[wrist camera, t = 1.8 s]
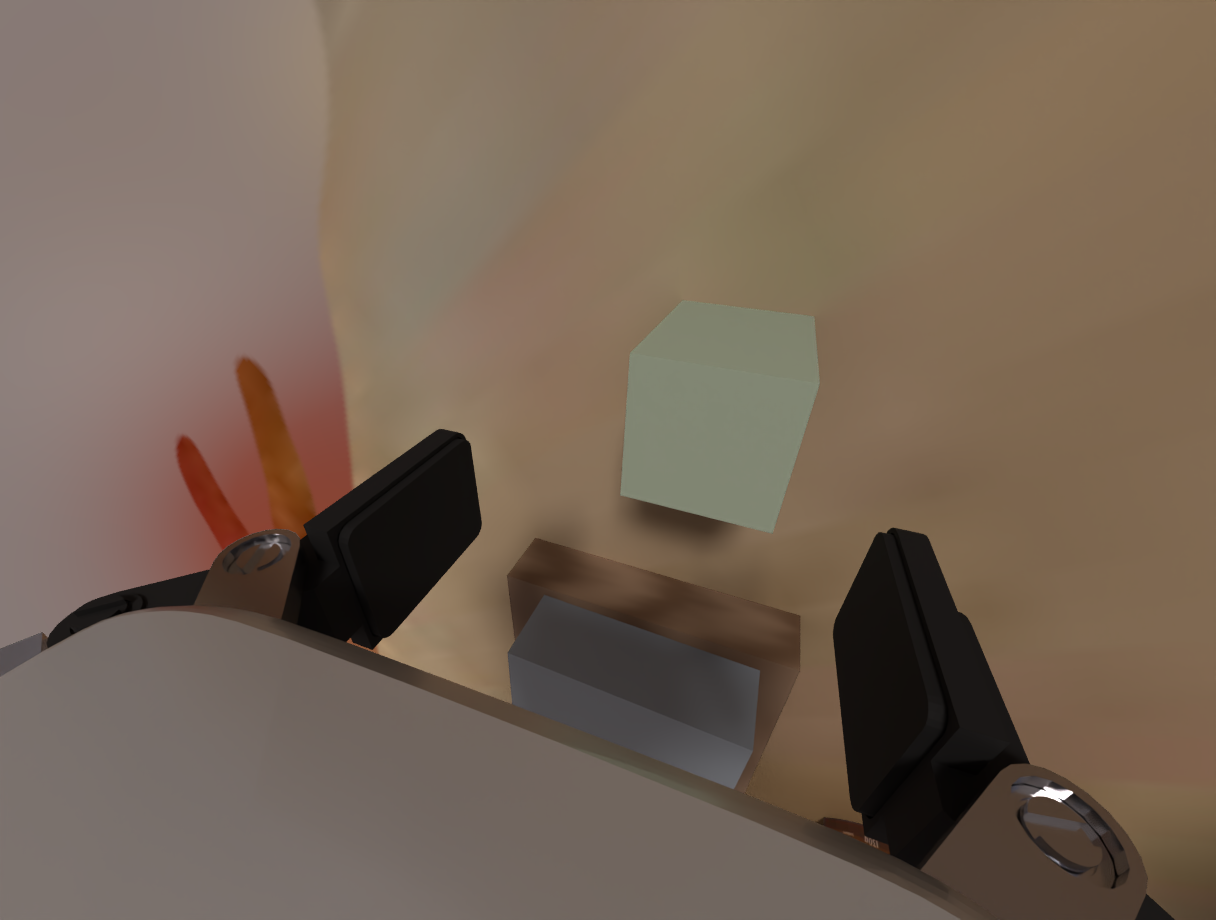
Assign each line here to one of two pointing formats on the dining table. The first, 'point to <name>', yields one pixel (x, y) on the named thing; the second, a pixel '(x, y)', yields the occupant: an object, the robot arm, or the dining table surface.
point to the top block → (636, 689)
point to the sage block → (719, 411)
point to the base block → (669, 619)
